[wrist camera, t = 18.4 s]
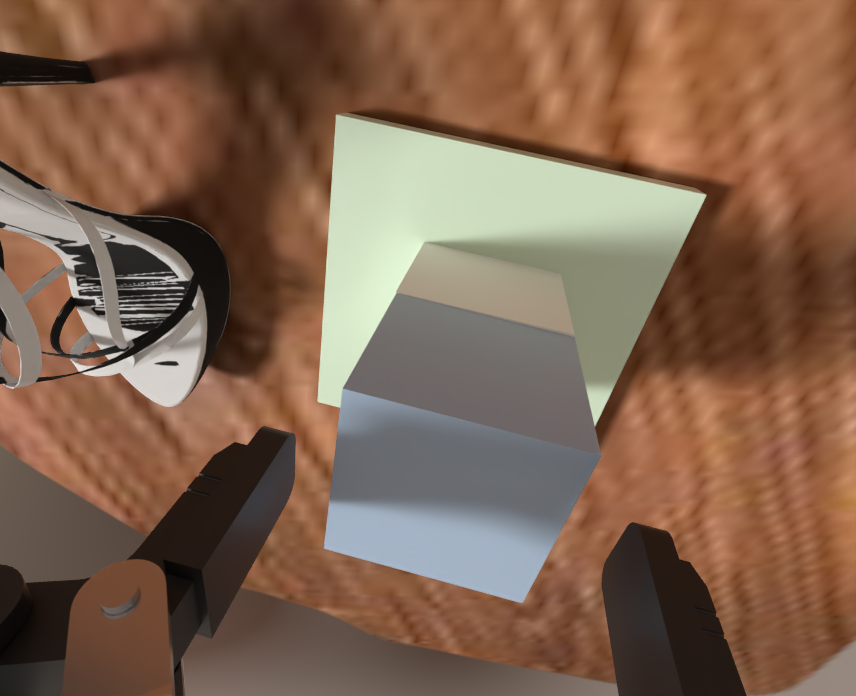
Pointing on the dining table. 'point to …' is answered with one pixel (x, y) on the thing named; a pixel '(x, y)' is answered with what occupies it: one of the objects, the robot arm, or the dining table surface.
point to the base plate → (494, 236)
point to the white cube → (489, 287)
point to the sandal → (112, 275)
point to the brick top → (460, 447)
